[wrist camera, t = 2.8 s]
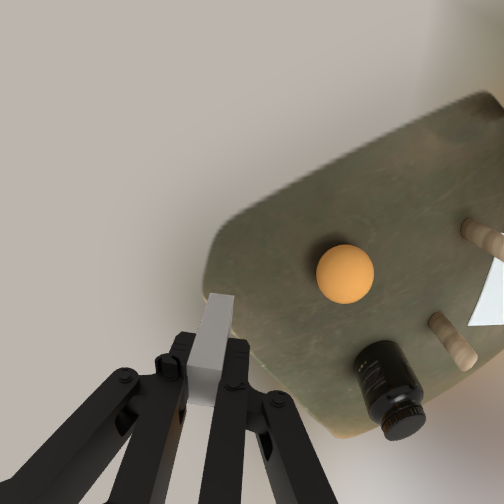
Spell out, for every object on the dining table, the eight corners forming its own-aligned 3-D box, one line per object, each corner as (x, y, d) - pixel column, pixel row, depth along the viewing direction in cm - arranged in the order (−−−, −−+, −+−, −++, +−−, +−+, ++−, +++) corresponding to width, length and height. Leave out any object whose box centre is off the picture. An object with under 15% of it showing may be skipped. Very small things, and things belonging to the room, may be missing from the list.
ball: (368, 240, 27) (389, 261, 22) (356, 289, 29) (371, 316, 24) (317, 233, 27) (329, 253, 22) (307, 284, 29) (315, 312, 24)
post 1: (446, 312, 30) (480, 352, 21) (439, 328, 31) (470, 370, 22) (432, 311, 30) (467, 354, 21) (425, 328, 31) (456, 372, 22)
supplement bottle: (409, 344, 32) (446, 409, 20) (382, 380, 34) (407, 445, 23) (370, 334, 31) (404, 407, 20) (343, 373, 33) (363, 446, 22)
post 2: (476, 220, 25) (525, 245, 17) (471, 240, 26) (518, 269, 18) (463, 216, 25) (514, 241, 17) (458, 237, 26) (506, 267, 18)
